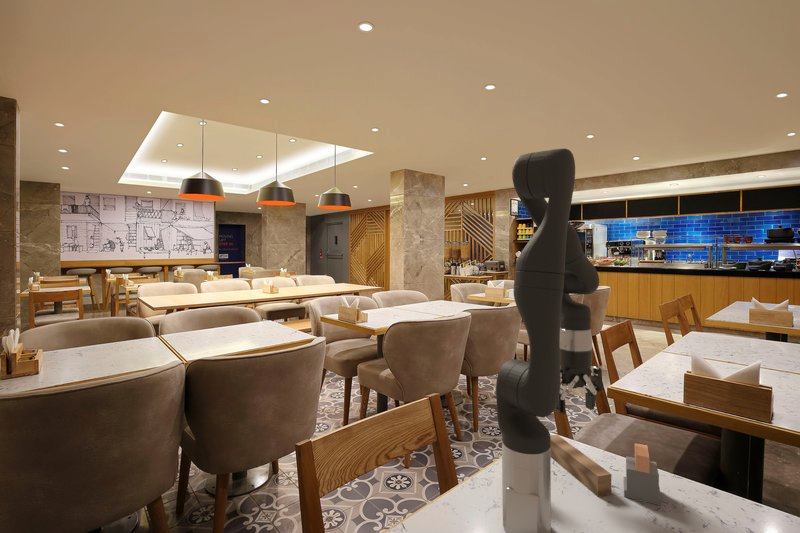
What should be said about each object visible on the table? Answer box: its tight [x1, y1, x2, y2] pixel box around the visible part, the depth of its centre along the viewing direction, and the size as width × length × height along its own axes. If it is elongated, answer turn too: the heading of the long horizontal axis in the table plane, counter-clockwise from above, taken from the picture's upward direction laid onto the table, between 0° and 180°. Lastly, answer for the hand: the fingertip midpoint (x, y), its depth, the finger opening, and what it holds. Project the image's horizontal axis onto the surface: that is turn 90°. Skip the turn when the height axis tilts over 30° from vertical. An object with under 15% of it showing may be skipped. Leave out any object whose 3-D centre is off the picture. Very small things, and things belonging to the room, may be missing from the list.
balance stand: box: [623, 442, 663, 506], centre depth 90 cm, size 6×7×10 cm
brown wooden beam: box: [550, 434, 612, 498], centre depth 99 cm, size 20×4×5 cm, turn 13°
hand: (575, 410), depth 99 cm, fingers open, 8 cm apart
